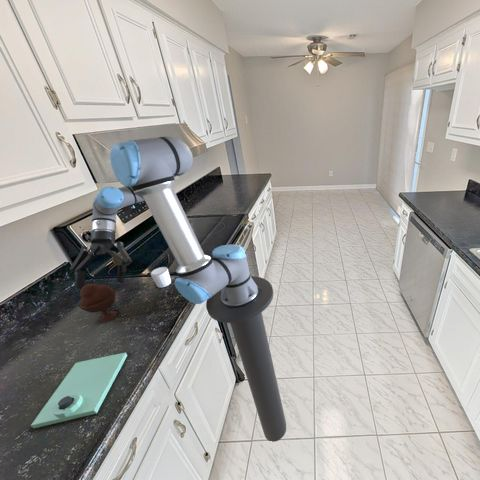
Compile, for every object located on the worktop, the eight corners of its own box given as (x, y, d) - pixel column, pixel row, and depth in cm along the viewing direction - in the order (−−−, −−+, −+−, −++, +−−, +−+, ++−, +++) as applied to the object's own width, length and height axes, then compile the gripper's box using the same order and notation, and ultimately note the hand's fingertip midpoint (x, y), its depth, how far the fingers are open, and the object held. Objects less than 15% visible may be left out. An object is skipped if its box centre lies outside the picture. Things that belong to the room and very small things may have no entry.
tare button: (75, 398, 66) (72, 394, 66) (69, 407, 64) (66, 404, 63) (65, 400, 66) (61, 397, 65) (58, 410, 64) (55, 406, 63)
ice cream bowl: (89, 332, 91) (67, 299, 84) (93, 314, 99) (73, 283, 92) (124, 319, 96) (106, 287, 89) (125, 303, 104) (109, 273, 97)
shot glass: (152, 287, 113) (146, 274, 110) (164, 278, 119) (159, 265, 115) (163, 289, 111) (158, 276, 108) (176, 280, 117) (171, 267, 113)
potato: (136, 257, 138) (130, 245, 134) (131, 269, 127) (125, 256, 124) (119, 261, 135) (112, 248, 132) (112, 274, 125) (104, 260, 121)
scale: (127, 355, 81) (123, 348, 79) (96, 413, 65) (91, 406, 64) (78, 365, 78) (73, 359, 77) (33, 428, 63) (26, 422, 61)
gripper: (60, 234, 97) (54, 289, 90) (131, 225, 101) (130, 277, 94) (76, 240, 104) (71, 292, 97) (142, 231, 108) (141, 280, 101)
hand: (100, 285), depth 96 cm, fingers open, 13 cm apart
